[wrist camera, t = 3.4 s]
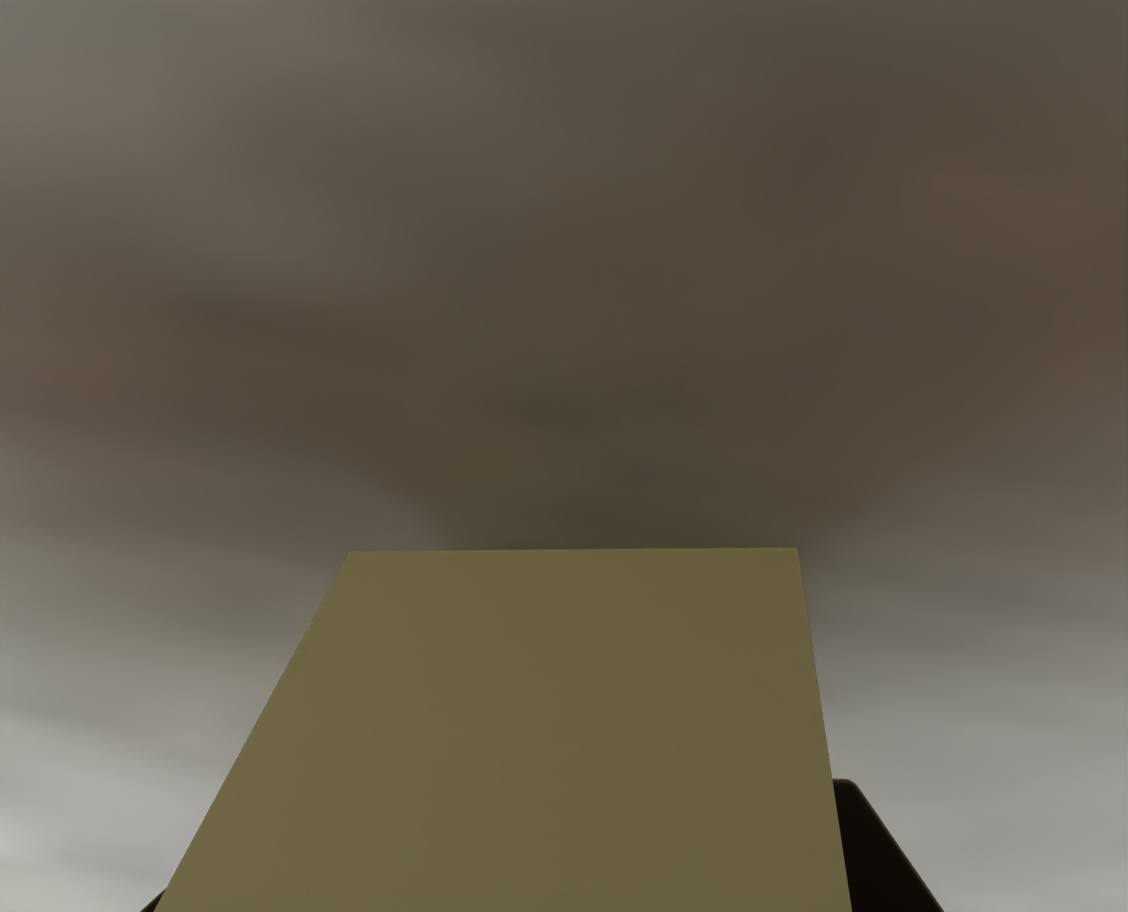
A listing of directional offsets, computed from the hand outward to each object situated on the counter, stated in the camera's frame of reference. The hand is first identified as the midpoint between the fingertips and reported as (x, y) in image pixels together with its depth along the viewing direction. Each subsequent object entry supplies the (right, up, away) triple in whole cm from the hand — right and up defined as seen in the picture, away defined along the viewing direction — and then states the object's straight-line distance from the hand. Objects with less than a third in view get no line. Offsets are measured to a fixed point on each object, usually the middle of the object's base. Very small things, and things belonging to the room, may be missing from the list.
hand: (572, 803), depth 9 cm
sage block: (0, +1, +1) cm, 1 cm away
